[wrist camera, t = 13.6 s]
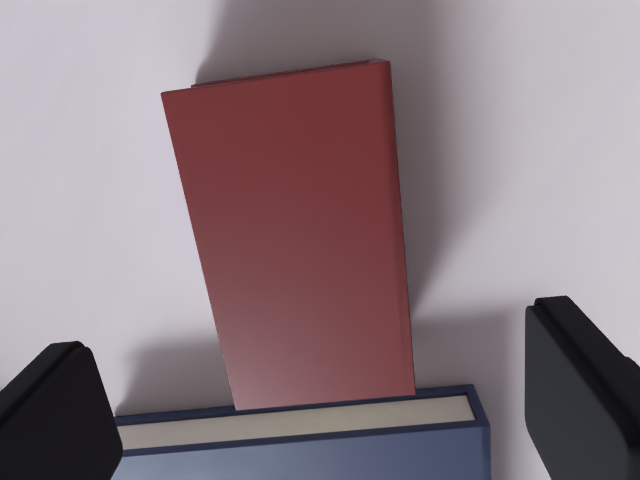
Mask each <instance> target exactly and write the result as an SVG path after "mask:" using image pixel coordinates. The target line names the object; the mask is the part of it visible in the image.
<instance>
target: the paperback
mask: <svg viewBox="0 0 640 480" xmlns="http://www.w3.org/2000/svg"><path fill="white" fill-rule="evenodd" d="M161 98H162V102H163V106H164V111H165V115H166V119H167V123H168V127H169V132H170V136H171V140H172V144H173V148H174V153H175V157H176V161H177V165H178V169H179V174H180V178H181V182H182V186H183V190H184V195H185V199H186V203H187V207H188V211H189V216H190V220H191V224H192V228H193V232H194V237H195V241H196V245H197V249H198V253H199V258H200V262H201V266H202V270H203V274H204V279H205V283H206V287H207V291H208V296H209V300H210V304H211V308H212V312H213V317H214V321H215V325H216V329H217V333H218V338H219V342H220V346H221V350H222V354H223V359H224V363H225V367H226V371H227V375H228V380H229V384H230V388H231V392H232V396H233V401H234V405H235V409H236V410H247V409H259V408H270V407H281V406H292V405H304V404H315V403H326V402H337V401H348V400H360V399H371V398H382V397H393V396H405V395H415V394H416V389H415V376H414V364H413V351H412V338H411V325H410V312H409V299H408V286H407V273H406V261H405V248H404V235H403V222H402V209H401V196H400V183H399V171H398V158H397V145H396V132H395V119H394V106H393V93H392V80H391V68H390V61H386V60H382V59H372V60H365V61H358V62H351V63H344V64H337V65H329V66H322V67H315V68H308V69H301V70H294V71H286V72H279V73H272V74H265V75H258V76H251V77H244V78H236V79H229V80H222V81H215V82H208V83H201V84H194V85H191V88H187V89H180V90H173V91H165V92H162V93H161Z"/></svg>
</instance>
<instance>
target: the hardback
mask: <svg viewBox="0 0 640 480" xmlns="http://www.w3.org/2000/svg"><path fill="white" fill-rule="evenodd" d="M114 419H115V422H116V425H117V428H118V431H119V434H120V437H121V440H122V444H123V455H122V459H121V461H120V463H119V465H118V467H117V469H116V471H115V472H114V474H113V476H112V478H111V479H110V480H491V443H490V424H489V421H488V419H487V416H486V414H485V412H484V409H483V407H482V404H481V402H480V400H479V397H478V395H477V392H476V390H475V387H474V385H462V386H451V387H440V388H429V389H418V390H416V394H415V395H405V396H393V397H382V398H371V399H360V400H348V401H337V402H326V403H315V404H304V405H292V406H281V407H270V408H259V409H247V410H236V409H235V406H230V407H219V408H208V409H196V410H185V411H174V412H163V413H152V414H141V415H130V416H119V417H114Z"/></svg>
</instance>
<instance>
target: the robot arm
mask: <svg viewBox="0 0 640 480" xmlns="http://www.w3.org/2000/svg"><path fill="white" fill-rule="evenodd" d="M525 421H526V426H527V429H528V432H529V435H530V437H531V439H532V441H533V443H534V445H535V447H536V449H537V451H538V453H539V455H540V457H541V459H542V461H543V463H544V465H545V467H546V469H547V471H548V473H549V475H550V477H551V480H640V367H639V366H638V365H637V364H636V363H635V362H634V361H633V360H632V359H630V358H629V357H625V356H624V355H623V354H622V353H621V352H620V351H619V350H618V349H617V348H616V347H615V346H614V345H613V344H612V343H611V341H610V340H609V339H608V338H607V337H606V336H605V335H604V334H603V333H602V332H601V331H600V330H599V329H598V328H597V327H596V326H595V324H594V323H593V322H592V321H591V320H590V319H589V318H588V317H587V316H586V315H585V314H584V313H583V312H582V311H581V310H580V308H579V307H578V306H577V305H576V304H575V303H574V302H573V301H572V300H571V299H570V298H569V297H568V296H555V297H545V298H537V299H536V300H535V303H534V306H527V308H526V313H525ZM122 455H123V444H122V440H121V437H120V434H119V431H118V428H117V425H116V422H115V419H114V416H113V413H112V410H111V407H110V404H109V401H108V398H107V395H106V392H105V389H104V386H103V383H102V380H101V377H100V374H99V371H98V368H97V365H96V362H95V359H94V356H93V353H92V351H91V349H90V348H88V347H85V346H84V345H83V344H82V343H81V342H79V341H73V342H62V343H53V344H50V345H49V346H47V347H46V348H45V349H44V350H43V351H42V352H41V353H40V354H39V355H38V356H37V357H36V358H35V359H34V360H33V361H32V362H31V363H30V364H29V365H28V366H27V367H25V368H24V369H23V370H22V371H21V372H20V373H19V374H18V375H17V376H16V377H15V378H14V379H13V380H12V381H11V382H10V383H9V384H8V385H7V386H6V387H5V388H4V389H3V390H1V391H0V480H110V479H111V478H112V476H113V474H114V472H115V471H116V469H117V467H118V465H119V463H120V461H121V459H122Z"/></svg>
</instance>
